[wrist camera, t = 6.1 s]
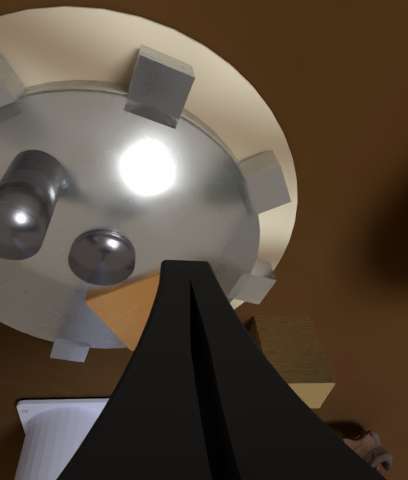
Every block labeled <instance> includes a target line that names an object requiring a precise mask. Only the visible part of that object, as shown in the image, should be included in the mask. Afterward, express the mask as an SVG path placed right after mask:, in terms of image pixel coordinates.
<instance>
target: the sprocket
mask: <svg viewBox="0 0 408 480" xmlns="http://www.w3.org/2000/svg"><path fill="white" fill-rule="evenodd" d="M194 80H195V75H194V71H193V67H192V65H189V64H187V63H185V62H182V61H180V60H178V59H175V58H173V57H171V56H168V55H166V54H164V53H161V52H159V51H157V50H154V49H152V48H150V47H147V46H145V45H142V44H141V46H140V50H139V53H138V56H137V60H136V63H135V66H134V70H133V73H132V77H131V80H130V83H129V85H123V84H118V83H112V82H107V81H95V80H66V81H54V82H47V83H43V84H39V85H34V86H30V87H25V85H24V84H23V82H22V81H21V80H20V78H19V77H18V75H17V74H16V72H15V71H14V70H13V68H12V67H11V65H10V64H9V62H8V61H7V60H6V58H5V57H4V55H3V54H2V52H1V51H0V322H2V323H3V324H5V325H7V326H10V327H12V328H14V329H16V330H18V331H20V332H23V333H26V334H29V335H32V336H34V337H37V338H41V339H44V340H48V341H52V342H53V347H52V351H51V355H50V358H56V359H63V360H70V361H78V362H84V361H85V358H86V356H87V353H88V350H89V348H125V347H128V348H129V349H130V350H131V351H134V350H135V348H136V346H137V344H138V342H139V339H140V337H141V334H142V332H143V330H144V327H145V325H146V322H147V320H148V317H149V314H150V311H151V308H152V305H153V302H154V299H155V296H156V293H157V289H158V285H159V278H160V267H161V262H162V261H164V260H189V261H207V262H208V263H209V264H210V265H211V267H212V270H213V272H214V274H215V276H216V278H217V280H218V282H219V284H220V286H221V288H222V290H223V291H224V293H225V295H226V297H227V299H228V300H229V302H231V301H232V300H233V299H237V300H241V301H246V302H250V303H255V304H259V303H260V302H261V301H262V299H263V298H264V297H265V295H266V294H267V292H268V291H269V290H270V288H271V287H272V286H273V284H274V283H275V282H276V278H275V275H274V272H273V269H272V266H271V263H270V261H266V260H263V259H259V258H257V254H258V249H259V242H260V224H259V216H258V214H260V213H263V212H265V211H268V210H271V209H273V208H276V207H279V206H281V205H284V204H287V203H289V202H291V199H290V195H289V192H288V189H287V185H286V182H285V179H284V175H283V172H282V169H281V165H280V164H279V162H278V160H277V158H276V156H275V154H274V152H273V150H269V151H267V152H264V153H262V154H259V155H257V156H254V157H252V158H249V159H247V160H244V161H242V162H238V160H237V159H236V157H235V156H234V154H233V153H232V151H231V150H230V148H229V147H228V146H227V144H226V143H225V142H224V141H223V140H222V139H221V138H220V137H219V136H218V134H217V133H216V132H215V131H214V130H213V129H211V128H210V127H209V126H208V125H207V124H205V123H204V122H203V121H202V120H201V119H199V118H198V117H197V116H195V115H194V114H192V113H191V112H189V111H187V110H186V109H184V105H185V103H186V100H187V98H188V95H189V93H190V90H191V87H192V85H193V82H194Z"/></svg>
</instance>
